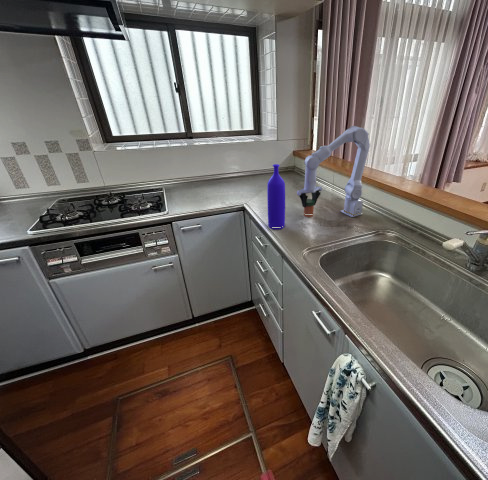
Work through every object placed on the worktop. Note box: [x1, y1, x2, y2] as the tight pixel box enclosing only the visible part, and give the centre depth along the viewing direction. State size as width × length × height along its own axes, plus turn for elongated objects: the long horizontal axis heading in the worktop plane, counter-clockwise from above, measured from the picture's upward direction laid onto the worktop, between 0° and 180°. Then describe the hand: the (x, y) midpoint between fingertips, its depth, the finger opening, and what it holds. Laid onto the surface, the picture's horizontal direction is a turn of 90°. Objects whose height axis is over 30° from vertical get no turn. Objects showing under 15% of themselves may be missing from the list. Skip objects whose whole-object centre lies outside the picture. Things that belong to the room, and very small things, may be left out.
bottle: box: [266, 163, 286, 231], centre depth 124 cm, size 8×8×30 cm
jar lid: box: [306, 198, 316, 206], centre depth 140 cm, size 6×6×2 cm
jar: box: [303, 205, 315, 218], centre depth 142 cm, size 5×5×8 cm
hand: (308, 205), depth 141 cm, fingers closed on jar lid, 6 cm apart
